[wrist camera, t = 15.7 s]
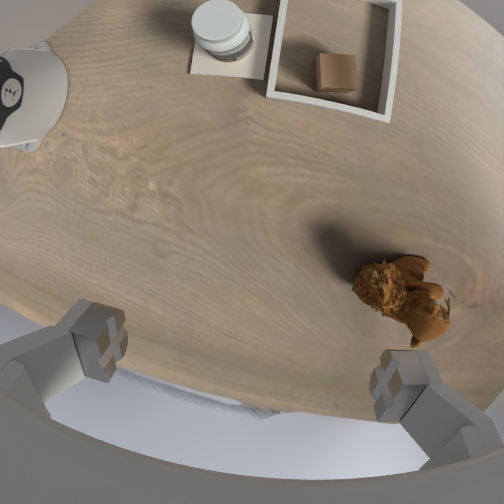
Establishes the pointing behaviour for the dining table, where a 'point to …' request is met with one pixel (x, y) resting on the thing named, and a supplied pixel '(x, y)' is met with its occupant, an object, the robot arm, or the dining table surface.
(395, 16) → the tray frame
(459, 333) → the dining table surface
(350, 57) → the walnut block
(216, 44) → the pill bottle
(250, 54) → the coaster
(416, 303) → the stuffed squirrel
